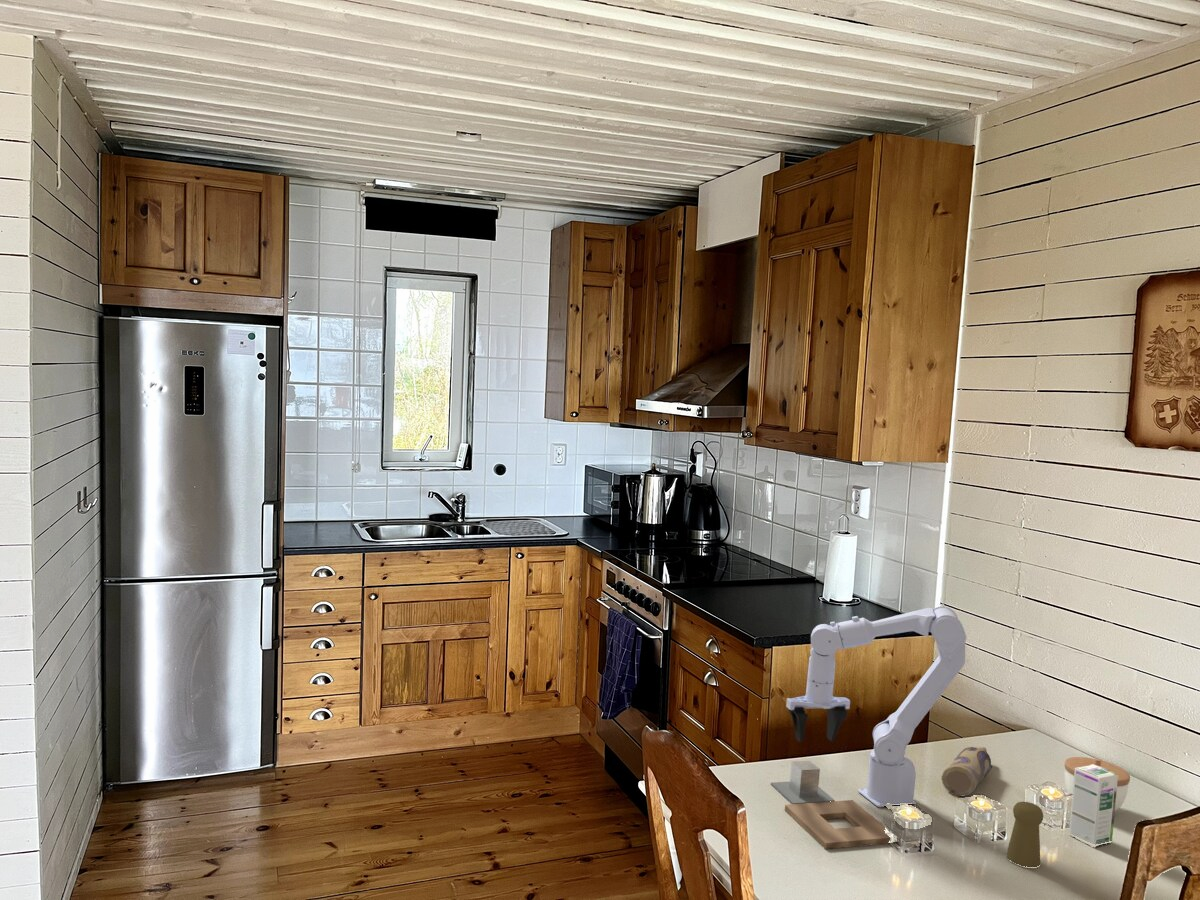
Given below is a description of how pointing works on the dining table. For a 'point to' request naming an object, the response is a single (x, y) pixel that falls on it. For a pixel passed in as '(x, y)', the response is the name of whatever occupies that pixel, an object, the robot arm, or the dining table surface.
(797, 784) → the steel plug
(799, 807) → the walnut hole plate
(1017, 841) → the olive pawn figure
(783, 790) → the gray square plate
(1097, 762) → the lidded bowl
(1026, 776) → the dining table surface
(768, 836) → the dining table surface
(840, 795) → the dining table surface
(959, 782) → the decorative bottle
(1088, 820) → the syrup box
